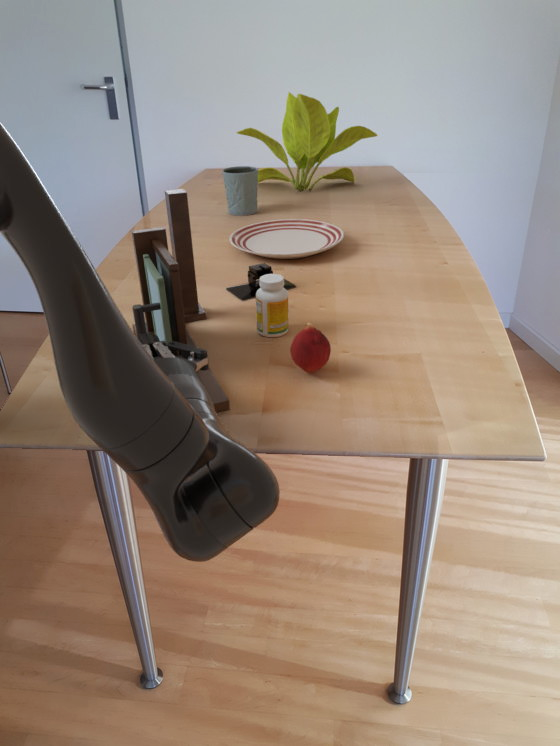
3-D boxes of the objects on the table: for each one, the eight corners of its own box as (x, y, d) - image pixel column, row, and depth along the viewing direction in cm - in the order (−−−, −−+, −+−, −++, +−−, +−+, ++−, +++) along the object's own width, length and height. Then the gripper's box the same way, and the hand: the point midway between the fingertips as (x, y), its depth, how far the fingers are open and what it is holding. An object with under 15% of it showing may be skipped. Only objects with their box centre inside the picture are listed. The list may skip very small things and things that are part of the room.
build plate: (241, 301, 105) (240, 278, 102) (225, 289, 110) (223, 267, 108) (296, 287, 110) (295, 265, 108) (277, 276, 115) (277, 255, 113)
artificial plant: (380, 208, 186) (392, 124, 188) (321, 148, 150) (336, 45, 152) (278, 216, 209) (290, 141, 211) (205, 166, 173) (220, 76, 175)
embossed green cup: (265, 210, 163) (264, 167, 157) (247, 218, 155) (244, 174, 149) (237, 206, 167) (235, 165, 161) (218, 214, 160) (215, 171, 154)
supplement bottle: (251, 334, 92) (248, 280, 87) (266, 322, 96) (264, 270, 91) (279, 340, 90) (278, 286, 85) (293, 327, 94) (293, 274, 89)
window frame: (170, 423, 71) (151, 294, 61) (133, 332, 94) (115, 228, 85) (229, 409, 73) (219, 283, 64) (179, 323, 96) (166, 222, 87)
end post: (179, 323, 96) (163, 196, 85) (173, 313, 100) (157, 189, 89) (206, 318, 98) (194, 192, 87) (199, 308, 102) (187, 186, 91)
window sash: (144, 375, 78) (129, 283, 71) (132, 342, 87) (117, 258, 80) (175, 368, 80) (163, 277, 73) (160, 337, 89) (148, 253, 81)
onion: (331, 364, 83) (333, 316, 79) (326, 383, 78) (328, 334, 74) (294, 361, 84) (294, 313, 80) (287, 380, 79) (286, 330, 75)
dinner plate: (251, 273, 117) (250, 258, 115) (216, 238, 139) (215, 225, 137) (364, 256, 125) (365, 242, 124) (314, 225, 147) (314, 213, 146)
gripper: (230, 362, 60) (190, 305, 74) (107, 389, 56) (90, 323, 70) (234, 418, 64) (196, 353, 78) (120, 446, 60) (101, 373, 74)
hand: (146, 339), depth 74 cm, fingers closed
